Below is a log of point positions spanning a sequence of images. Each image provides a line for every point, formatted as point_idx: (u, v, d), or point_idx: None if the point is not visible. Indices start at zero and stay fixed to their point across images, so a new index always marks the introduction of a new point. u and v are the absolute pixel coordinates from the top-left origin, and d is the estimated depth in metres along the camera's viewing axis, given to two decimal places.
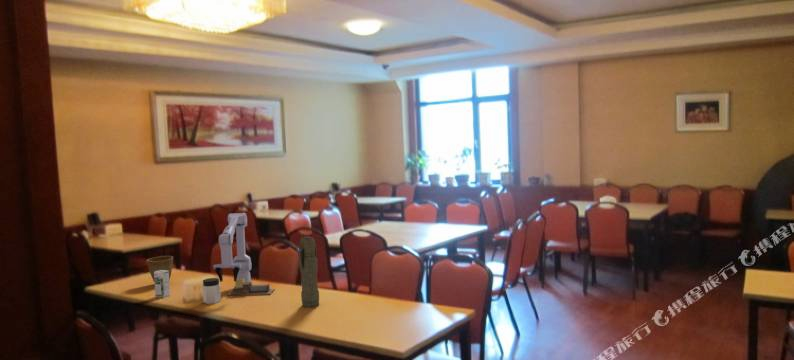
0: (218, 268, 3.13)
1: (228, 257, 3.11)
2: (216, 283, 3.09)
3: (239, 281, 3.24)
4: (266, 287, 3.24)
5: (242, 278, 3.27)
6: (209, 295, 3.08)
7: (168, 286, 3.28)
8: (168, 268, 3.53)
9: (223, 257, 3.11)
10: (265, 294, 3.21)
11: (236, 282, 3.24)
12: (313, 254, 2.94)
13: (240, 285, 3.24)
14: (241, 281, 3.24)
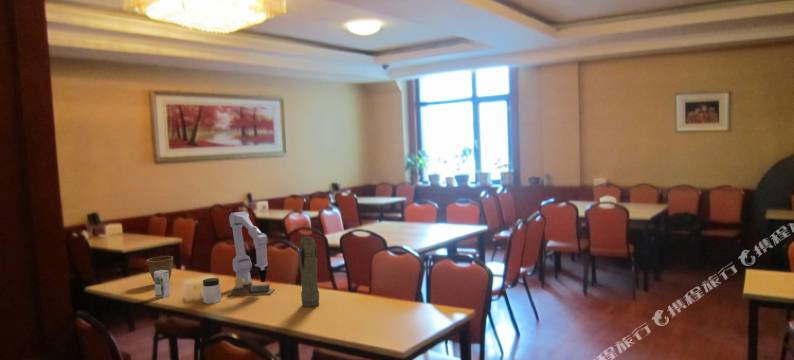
0: None
1: (257, 257, 3.23)
2: (216, 283, 3.09)
3: (239, 281, 3.24)
4: (266, 287, 3.24)
5: (242, 278, 3.27)
6: (209, 295, 3.08)
7: (168, 286, 3.28)
8: (168, 268, 3.53)
9: None
10: (265, 294, 3.21)
11: (236, 282, 3.24)
12: (313, 254, 2.94)
13: (240, 285, 3.24)
14: (241, 281, 3.24)
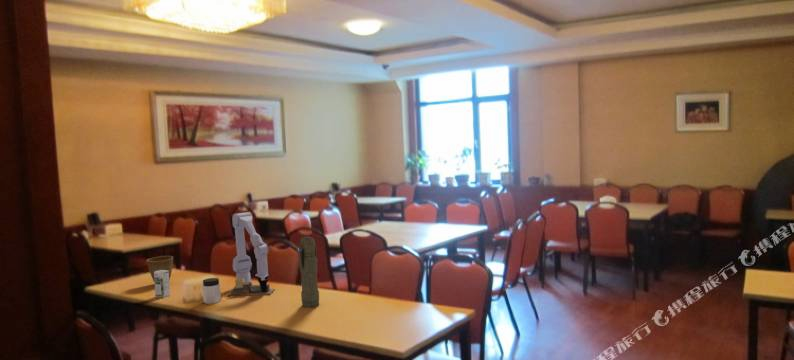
0: None
1: (258, 267, 3.23)
2: (216, 283, 3.09)
3: (239, 281, 3.24)
4: (266, 287, 3.24)
5: (242, 278, 3.27)
6: (209, 295, 3.08)
7: (168, 286, 3.28)
8: (168, 268, 3.53)
9: None
10: (265, 294, 3.21)
11: (236, 282, 3.24)
12: (313, 254, 2.94)
13: (240, 285, 3.24)
14: (241, 281, 3.24)
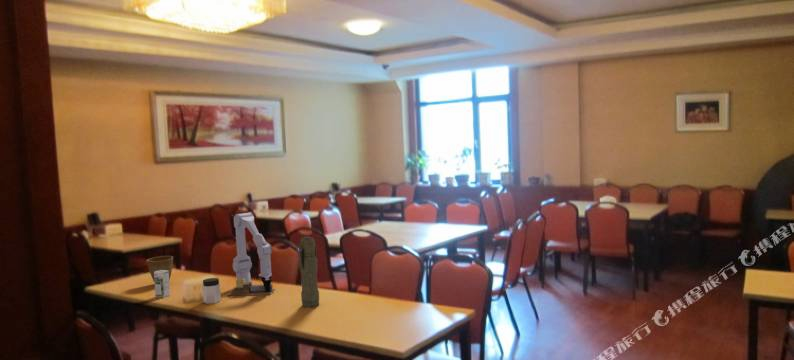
0: None
1: (261, 267, 3.23)
2: (216, 283, 3.09)
3: (240, 281, 3.24)
4: None
5: (243, 278, 3.27)
6: (209, 295, 3.08)
7: (168, 286, 3.28)
8: (168, 268, 3.53)
9: None
10: (265, 294, 3.21)
11: (237, 282, 3.24)
12: (313, 254, 2.94)
13: (241, 285, 3.24)
14: (242, 281, 3.24)
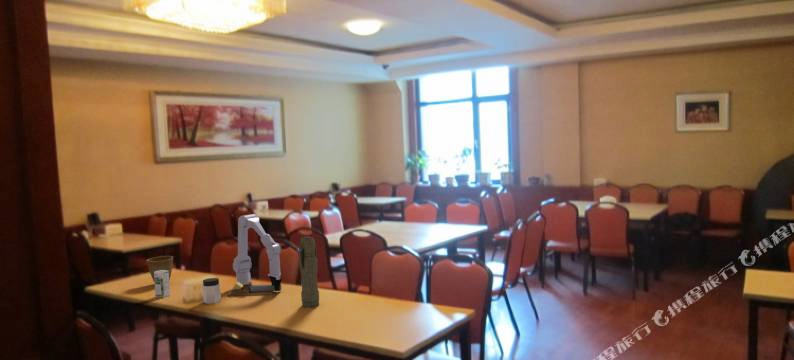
0: (272, 275, 3.29)
1: (271, 267, 3.23)
2: (216, 283, 3.09)
3: (235, 286, 3.24)
4: None
5: (236, 283, 3.28)
6: (209, 295, 3.08)
7: (168, 286, 3.28)
8: (168, 268, 3.53)
9: None
10: (265, 294, 3.21)
11: (234, 289, 3.24)
12: (313, 254, 2.94)
13: (239, 288, 3.24)
14: (236, 285, 3.24)
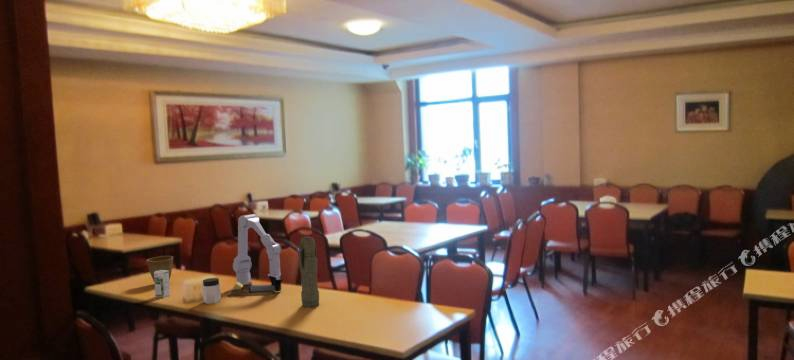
0: (272, 275, 3.29)
1: (271, 267, 3.23)
2: (216, 283, 3.09)
3: (235, 286, 3.24)
4: None
5: (236, 283, 3.28)
6: (209, 295, 3.08)
7: (168, 286, 3.28)
8: (168, 268, 3.53)
9: None
10: (265, 294, 3.21)
11: (234, 289, 3.24)
12: (313, 254, 2.94)
13: (239, 288, 3.24)
14: (236, 285, 3.24)
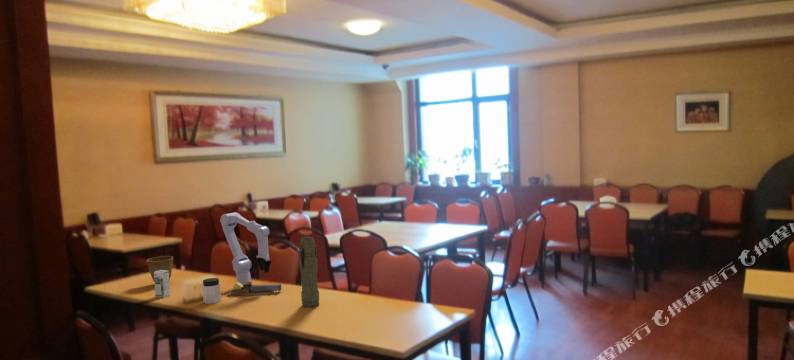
0: (259, 257, 3.37)
1: (260, 249, 3.30)
2: (216, 283, 3.09)
3: (235, 286, 3.24)
4: (278, 287, 3.24)
5: (236, 283, 3.28)
6: (209, 295, 3.08)
7: (168, 286, 3.28)
8: (168, 268, 3.53)
9: (258, 248, 3.32)
10: (265, 294, 3.21)
11: (234, 289, 3.24)
12: (313, 254, 2.94)
13: (239, 288, 3.24)
14: (236, 285, 3.24)
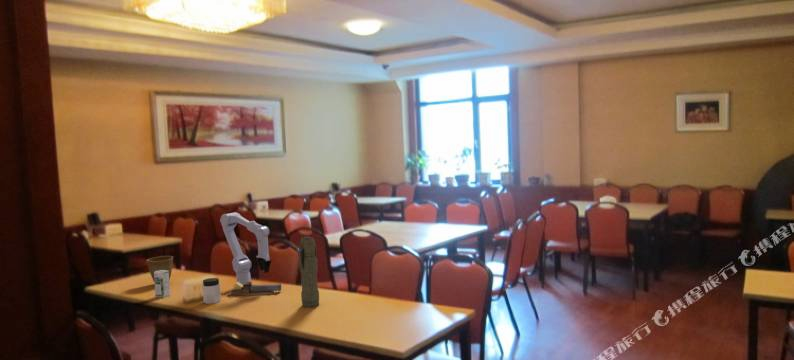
0: (259, 257, 3.37)
1: (260, 249, 3.30)
2: (216, 283, 3.09)
3: (235, 286, 3.24)
4: (278, 287, 3.24)
5: (236, 283, 3.28)
6: (209, 295, 3.08)
7: (168, 286, 3.28)
8: (168, 268, 3.53)
9: (258, 248, 3.32)
10: (265, 294, 3.21)
11: (234, 289, 3.24)
12: (313, 254, 2.94)
13: (239, 288, 3.24)
14: (236, 285, 3.24)
